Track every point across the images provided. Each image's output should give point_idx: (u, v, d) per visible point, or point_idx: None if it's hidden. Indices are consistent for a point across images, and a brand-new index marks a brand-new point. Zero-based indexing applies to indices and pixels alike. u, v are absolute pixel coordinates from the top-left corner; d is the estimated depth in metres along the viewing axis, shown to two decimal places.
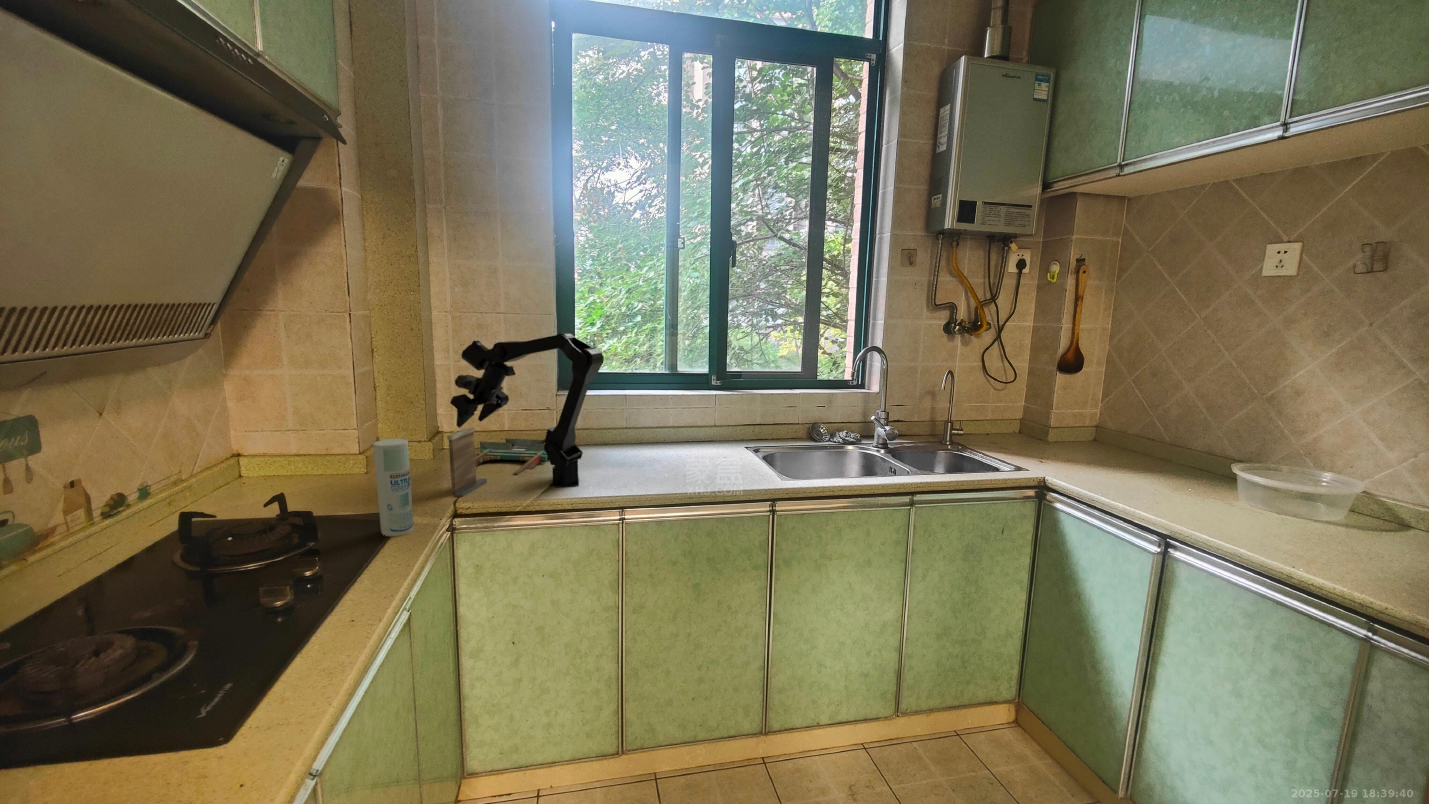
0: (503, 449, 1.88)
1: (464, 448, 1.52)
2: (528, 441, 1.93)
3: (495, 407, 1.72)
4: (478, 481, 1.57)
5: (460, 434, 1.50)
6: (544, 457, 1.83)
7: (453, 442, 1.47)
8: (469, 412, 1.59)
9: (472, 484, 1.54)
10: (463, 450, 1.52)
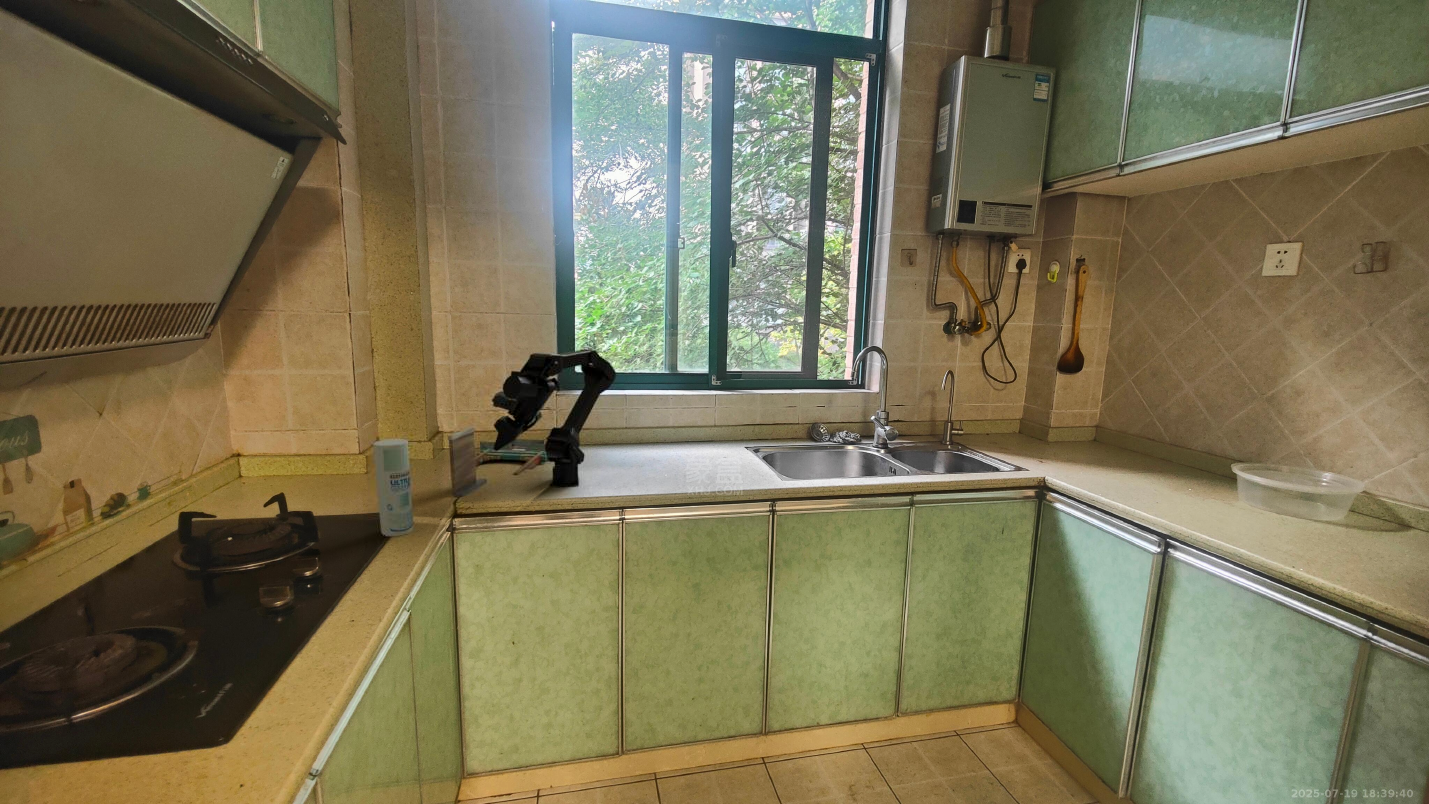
0: (503, 449, 1.88)
1: (464, 448, 1.52)
2: (528, 441, 1.93)
3: (529, 425, 1.58)
4: (478, 481, 1.57)
5: (460, 434, 1.50)
6: (544, 457, 1.83)
7: (453, 442, 1.47)
8: (516, 437, 1.45)
9: (472, 484, 1.54)
10: (463, 450, 1.52)
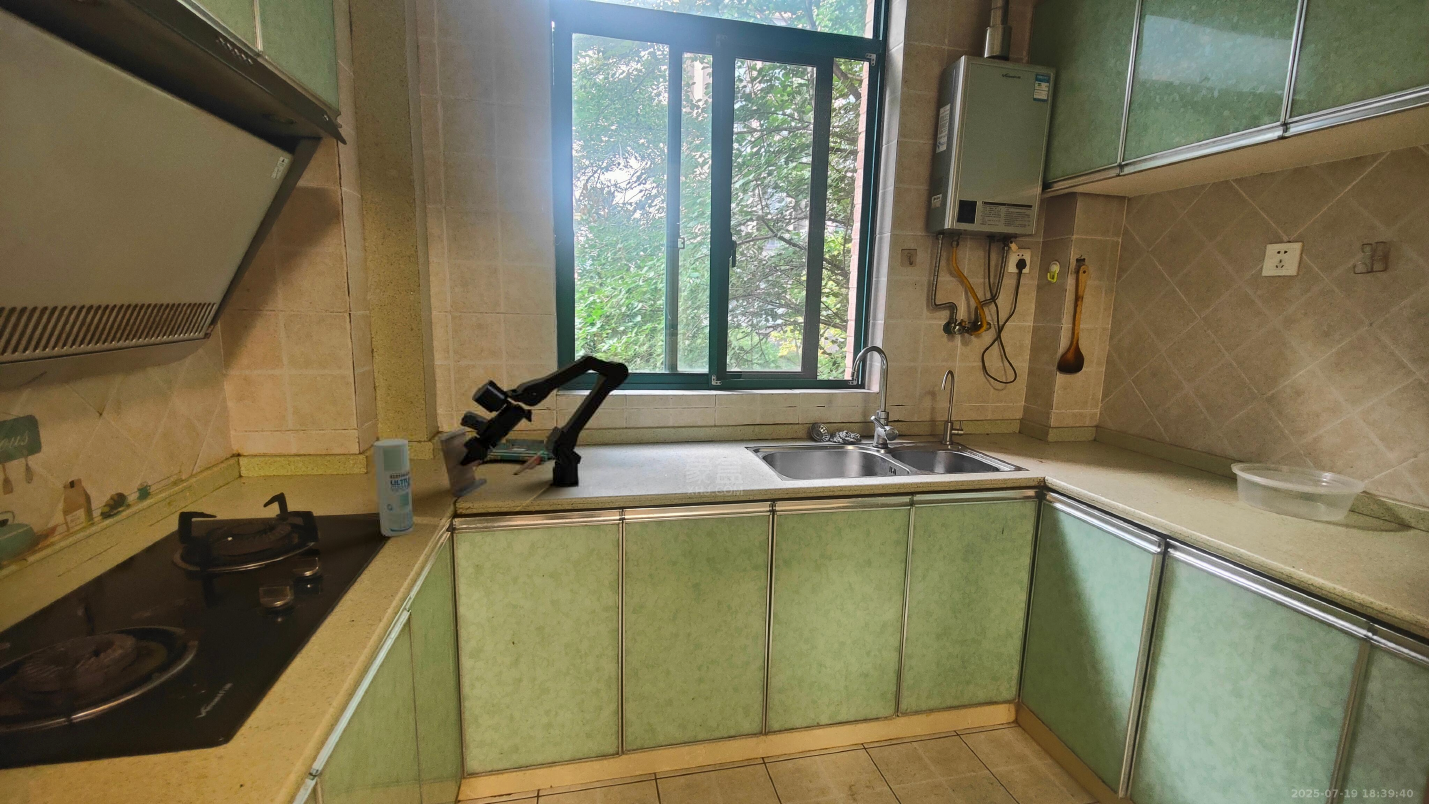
0: (503, 449, 1.89)
1: (458, 448, 1.53)
2: (528, 441, 1.93)
3: None
4: (478, 481, 1.57)
5: (451, 434, 1.50)
6: (544, 457, 1.83)
7: (445, 442, 1.47)
8: (485, 458, 1.45)
9: (472, 484, 1.54)
10: (457, 450, 1.52)
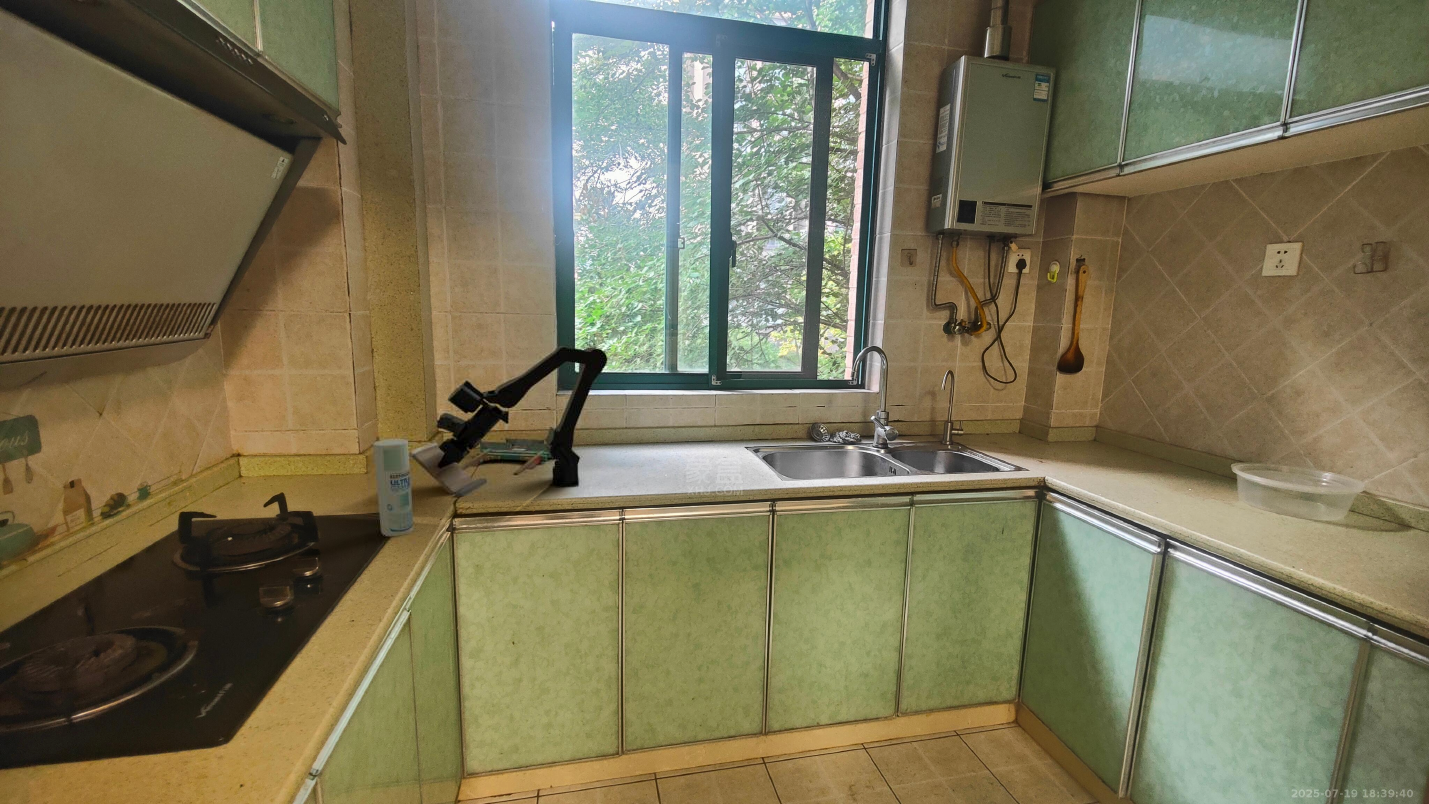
0: (503, 449, 1.89)
1: (436, 458, 1.54)
2: (528, 441, 1.93)
3: None
4: (478, 481, 1.57)
5: (420, 448, 1.52)
6: (544, 457, 1.83)
7: (417, 455, 1.49)
8: (461, 460, 1.45)
9: (472, 484, 1.54)
10: (436, 460, 1.53)
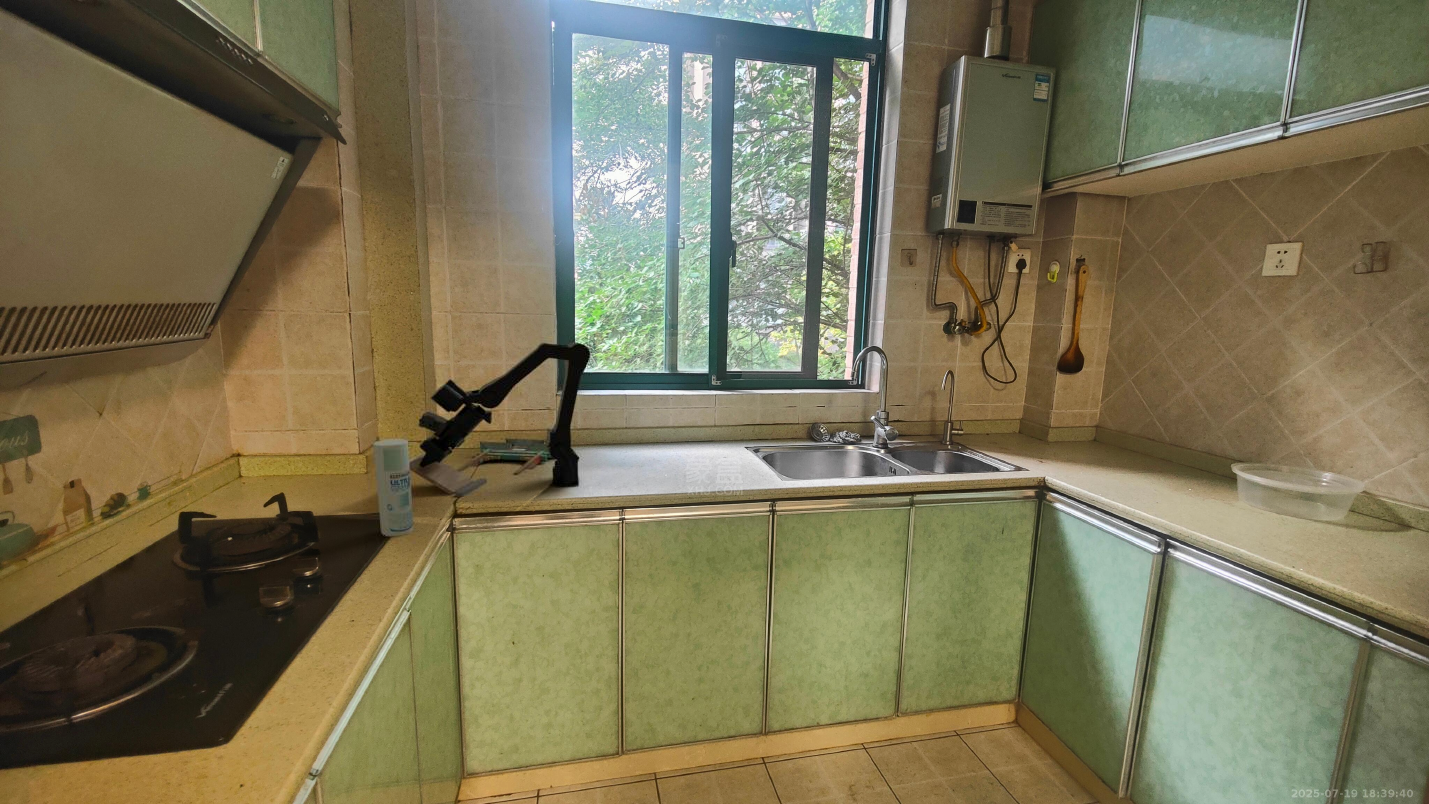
0: (503, 449, 1.89)
1: (431, 465, 1.54)
2: (528, 441, 1.93)
3: None
4: (478, 481, 1.57)
5: (413, 458, 1.53)
6: (544, 457, 1.83)
7: (410, 464, 1.50)
8: None
9: (472, 484, 1.54)
10: (431, 466, 1.54)
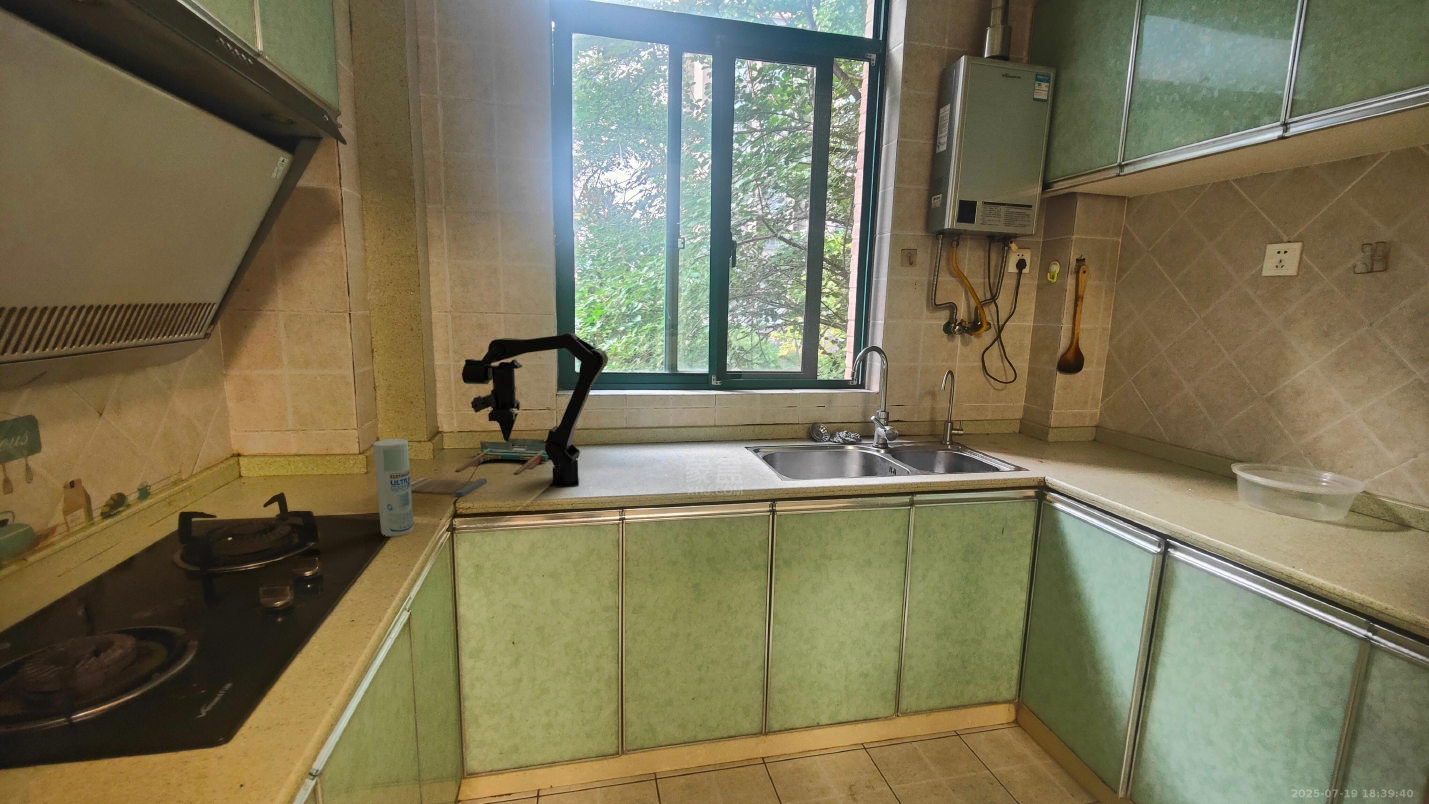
0: (503, 449, 1.89)
1: (426, 484, 1.55)
2: (528, 441, 1.93)
3: (514, 416, 1.62)
4: (478, 481, 1.57)
5: None
6: (544, 457, 1.83)
7: None
8: (513, 417, 1.53)
9: (472, 484, 1.54)
10: (426, 485, 1.55)
